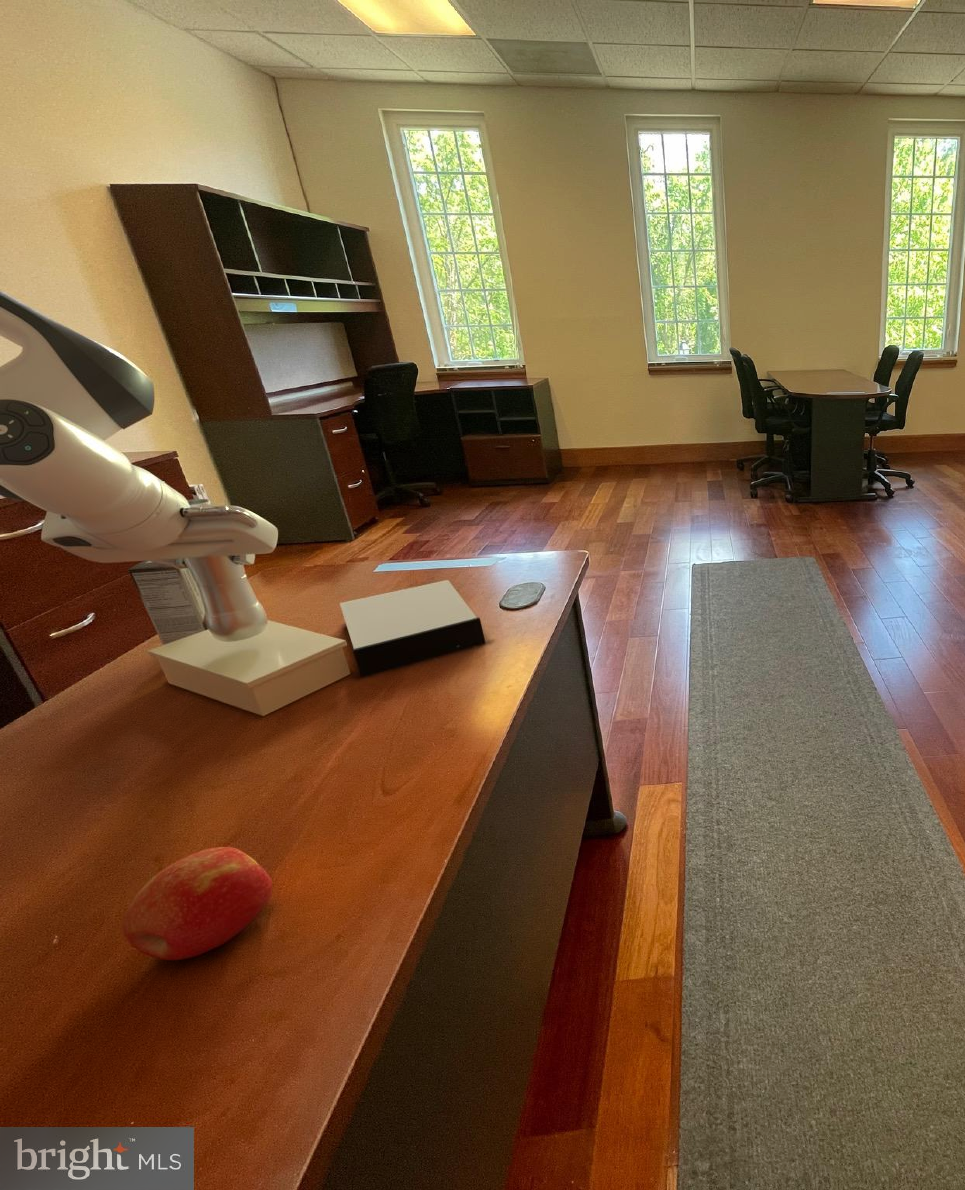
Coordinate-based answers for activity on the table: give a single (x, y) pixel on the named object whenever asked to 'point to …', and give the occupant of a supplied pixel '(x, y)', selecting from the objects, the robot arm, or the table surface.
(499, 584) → the table surface
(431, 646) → the disc drive
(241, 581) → the plastic bottle
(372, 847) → the table surface
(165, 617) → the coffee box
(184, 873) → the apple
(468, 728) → the table surface
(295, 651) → the flat beige lidded box
